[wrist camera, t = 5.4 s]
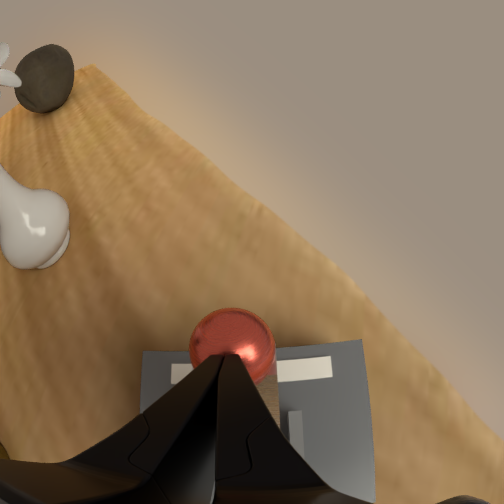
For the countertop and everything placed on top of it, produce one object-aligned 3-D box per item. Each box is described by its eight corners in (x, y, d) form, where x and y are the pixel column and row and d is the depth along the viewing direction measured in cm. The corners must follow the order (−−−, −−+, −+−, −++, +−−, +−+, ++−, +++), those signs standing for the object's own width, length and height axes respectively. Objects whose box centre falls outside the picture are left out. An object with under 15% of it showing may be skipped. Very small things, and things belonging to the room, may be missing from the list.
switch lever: (281, 460, 12) (275, 348, 8) (218, 461, 12) (170, 351, 8) (279, 412, 14) (271, 288, 11) (222, 413, 15) (189, 293, 11)
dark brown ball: (92, 94, 49) (67, 34, 37) (34, 133, 45) (2, 75, 32) (77, 82, 56) (57, 33, 43) (29, 115, 51) (4, 67, 39)
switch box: (355, 486, 15) (391, 513, 9) (169, 491, 16) (119, 515, 10) (345, 357, 21) (374, 323, 14) (169, 366, 21) (122, 337, 15)
